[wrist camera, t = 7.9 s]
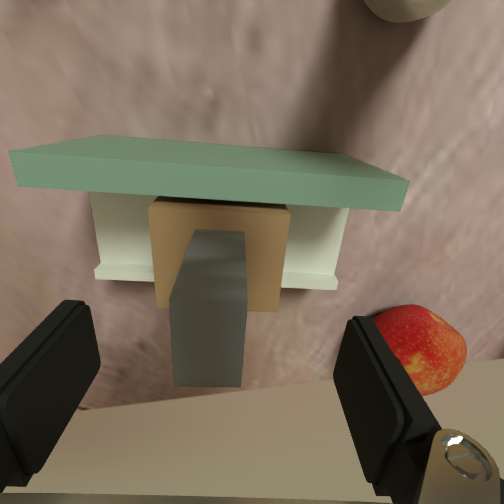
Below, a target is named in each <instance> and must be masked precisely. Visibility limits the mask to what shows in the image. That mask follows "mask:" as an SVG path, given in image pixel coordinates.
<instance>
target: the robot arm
mask: <svg viewBox="0 0 504 504" xmlns="http://www.w3.org/2000/svg"><path fill="white" fill-rule="evenodd" d="M100 363H101V361H100V355H99V350H98V345H97V340H96V335H95V330H94V325H93V320H92V315H91V310H90V307H89V306H88V305H85V302H84V301H79V300H64V301H62V302H61V303H60V304H59V305H58V306H57V307H56V308H55V309H54V310H53V311H52V312H51V313H50V314H49V315H48V316H47V317H46V318H45V319H44V320H43V321H42V322H41V323H40V324H39V325H38V326H37V327H36V328H35V329H34V330H33V331H32V333H31V334H30V335H29V336H28V337H27V338H26V339H25V340H24V341H23V342H22V343H21V344H20V345H19V346H18V347H17V348H16V349H15V350H14V351H13V352H12V353H11V354H10V355H9V356H8V357H7V358H6V359H5V360H4V361H3V362H2V363H1V364H0V504H390V503H375V502H374V503H373V502H355V501H335V500H307V499H305V500H304V499H274V498H242V497H241V498H240V497H204V496H201V497H200V496H163V495H119V494H117V495H115V494H66V493H2V492H3V490H4V489H5V487H6V486H18V487H26V486H27V484H28V482H29V480H30V479H31V477H32V475H33V474H36V473H38V472H39V471H40V470H41V469H42V467H43V466H44V464H45V462H46V460H47V459H48V457H49V455H50V454H51V452H52V450H53V448H54V447H55V445H56V443H57V442H58V440H59V438H60V436H61V435H62V433H63V431H64V429H65V428H66V426H67V424H68V423H69V421H70V419H71V417H72V416H73V414H74V412H75V411H76V409H77V407H78V405H79V404H80V402H81V400H82V399H83V397H84V395H85V393H86V392H87V390H88V388H89V386H90V385H91V383H92V381H93V380H94V378H95V376H96V374H97V373H98V371H99V368H100ZM333 379H334V383H335V386H336V389H337V393H338V395H339V399H340V402H341V405H342V408H343V411H344V414H345V417H346V420H347V423H348V427H349V430H350V433H351V436H352V439H353V441H354V445H355V448H356V451H357V454H358V457H359V460H360V464H361V467H362V469H363V473H364V476H365V478H366V480H367V482H368V483H372V485H373V488H374V491H375V494H376V496H390V497H391V499H392V502H393V504H504V480H503V479H501V478H500V474H499V469H498V467H497V465H496V463H495V461H494V459H493V458H492V457H491V455H490V454H489V453H488V451H487V450H486V449H485V448H484V447H482V446H481V445H480V444H479V443H478V442H477V441H475V440H474V439H472V438H471V437H470V436H468V435H466V434H464V433H462V432H460V431H456V430H452V429H442V428H441V426H440V425H439V423H438V422H437V420H436V418H435V417H434V415H433V414H432V412H431V410H430V409H429V407H428V405H427V404H426V402H425V401H424V399H423V397H422V396H421V394H420V392H419V391H418V389H417V388H416V386H415V384H414V383H413V381H412V380H411V378H410V376H409V375H408V373H407V371H406V370H405V368H404V367H403V365H402V363H401V362H400V360H399V359H398V358H397V356H395V355H394V354H393V352H392V350H391V349H390V347H389V345H388V344H387V342H386V340H385V339H384V337H383V336H382V334H381V332H380V331H379V329H378V327H377V326H376V324H375V322H374V321H373V319H372V318H371V317H367V316H354V317H353V318H352V320H348V322H347V325H346V328H345V332H344V336H343V339H342V343H341V346H340V350H339V354H338V357H337V361H336V364H335V368H334V372H333Z"/></svg>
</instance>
